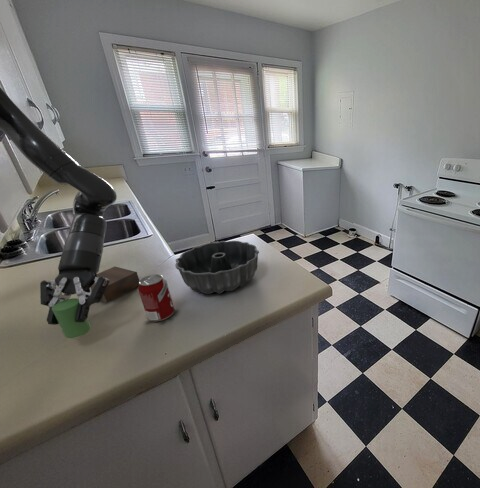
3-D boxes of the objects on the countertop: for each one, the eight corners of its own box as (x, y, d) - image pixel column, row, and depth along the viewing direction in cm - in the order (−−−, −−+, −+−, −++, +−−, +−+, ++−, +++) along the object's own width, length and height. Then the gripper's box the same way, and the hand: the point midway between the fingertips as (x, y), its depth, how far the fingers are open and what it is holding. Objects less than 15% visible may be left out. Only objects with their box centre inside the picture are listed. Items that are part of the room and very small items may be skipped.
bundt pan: (208, 260, 109) (204, 237, 105) (271, 265, 105) (269, 241, 101) (163, 298, 85) (155, 270, 81) (242, 306, 81) (238, 277, 77)
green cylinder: (73, 340, 62) (59, 312, 59) (60, 335, 64) (46, 307, 61) (95, 327, 67) (84, 300, 63) (83, 323, 68) (71, 296, 65)
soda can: (158, 326, 73) (146, 288, 68) (142, 319, 76) (130, 282, 71) (180, 311, 79) (170, 276, 74) (164, 306, 81) (154, 271, 76)
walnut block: (106, 302, 83) (101, 288, 81) (84, 295, 87) (78, 281, 85) (140, 284, 92) (136, 271, 90) (119, 278, 96) (114, 266, 94)
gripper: (37, 250, 64) (15, 324, 57) (104, 246, 66) (89, 318, 59) (62, 260, 71) (45, 327, 64) (122, 256, 73) (110, 321, 66)
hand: (66, 322), depth 62 cm, fingers closed on green cylinder, 4 cm apart
